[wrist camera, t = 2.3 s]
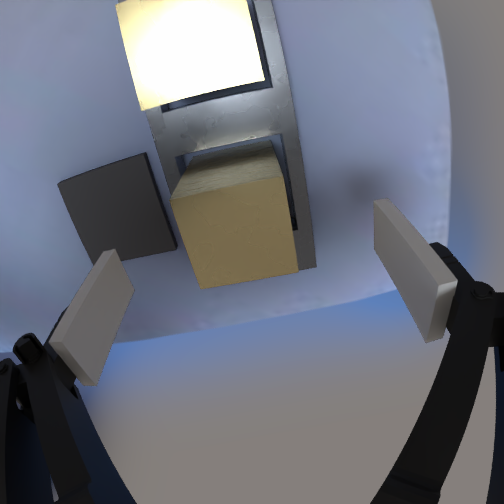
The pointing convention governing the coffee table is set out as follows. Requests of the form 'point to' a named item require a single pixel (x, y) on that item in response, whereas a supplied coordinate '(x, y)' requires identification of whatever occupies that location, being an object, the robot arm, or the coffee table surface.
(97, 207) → the rubber pad
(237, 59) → the block
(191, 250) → the tan textured cube
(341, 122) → the coffee table surface
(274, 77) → the rail
